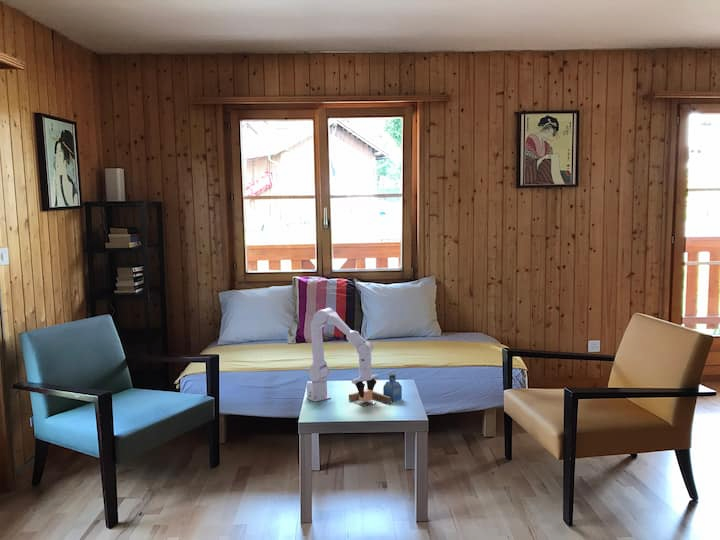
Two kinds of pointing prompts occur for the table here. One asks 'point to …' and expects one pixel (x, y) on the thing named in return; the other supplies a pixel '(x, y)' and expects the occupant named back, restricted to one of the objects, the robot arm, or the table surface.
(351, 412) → the table surface
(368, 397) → the terracotta cube
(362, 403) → the corner arena
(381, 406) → the table surface
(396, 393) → the perfume bottle
